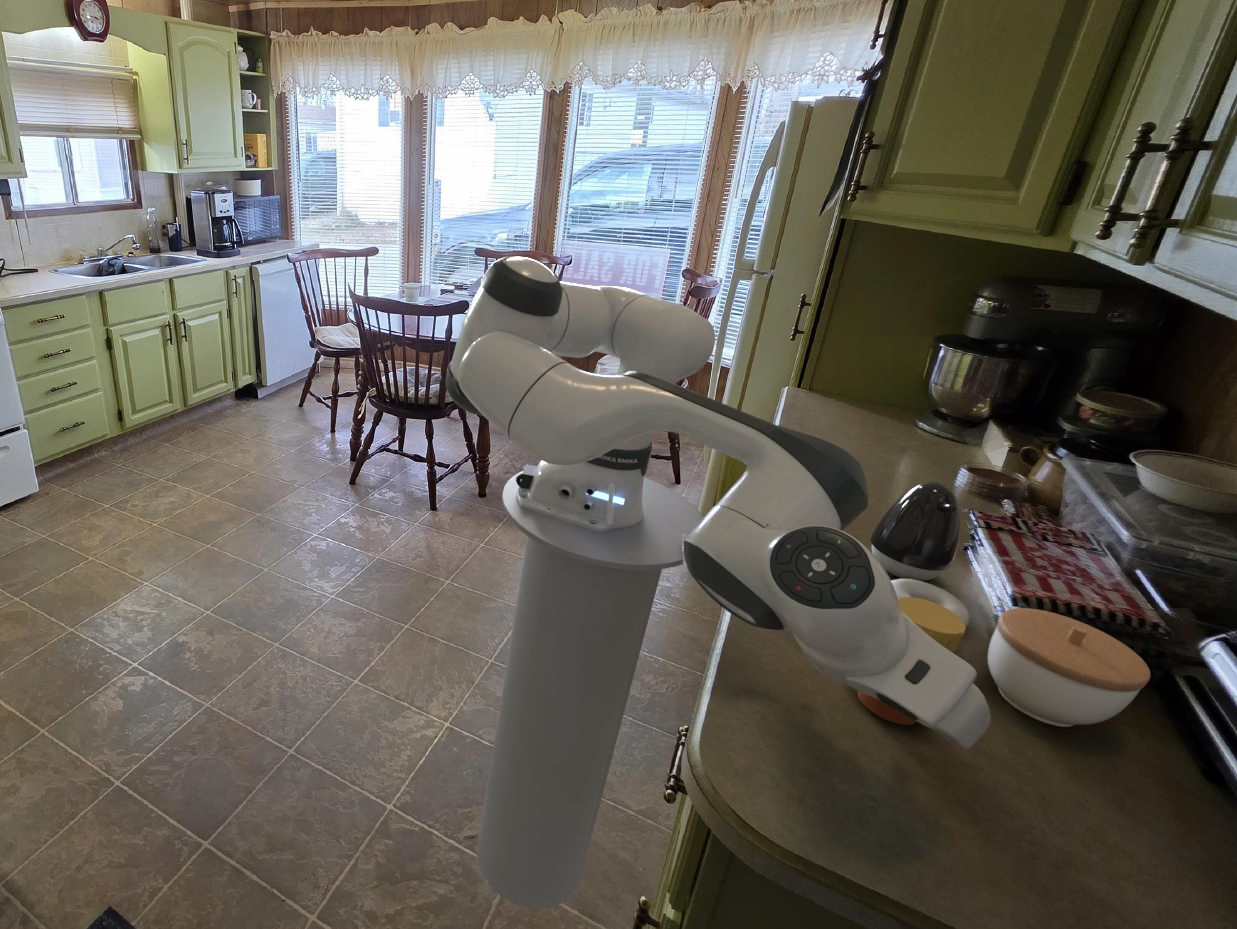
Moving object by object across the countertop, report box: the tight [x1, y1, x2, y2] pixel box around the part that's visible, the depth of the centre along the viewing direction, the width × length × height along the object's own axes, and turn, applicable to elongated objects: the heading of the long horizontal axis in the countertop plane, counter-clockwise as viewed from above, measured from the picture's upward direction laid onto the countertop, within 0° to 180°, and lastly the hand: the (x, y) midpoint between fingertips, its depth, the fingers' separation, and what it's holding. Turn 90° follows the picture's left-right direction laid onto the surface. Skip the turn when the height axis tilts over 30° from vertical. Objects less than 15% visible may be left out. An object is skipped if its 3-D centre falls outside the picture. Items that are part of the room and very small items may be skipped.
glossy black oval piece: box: [870, 481, 961, 582], centre depth 101 cm, size 10×10×15 cm
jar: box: [857, 691, 918, 726], centre depth 76 cm, size 6×6×13 cm
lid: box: [898, 597, 967, 653], centre depth 74 cm, size 6×6×3 cm
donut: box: [890, 578, 970, 627], centre depth 94 cm, size 10×3×10 cm
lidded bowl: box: [986, 607, 1151, 728], centre depth 78 cm, size 13×13×11 cm
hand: (872, 681), depth 72 cm, fingers open, 8 cm apart
